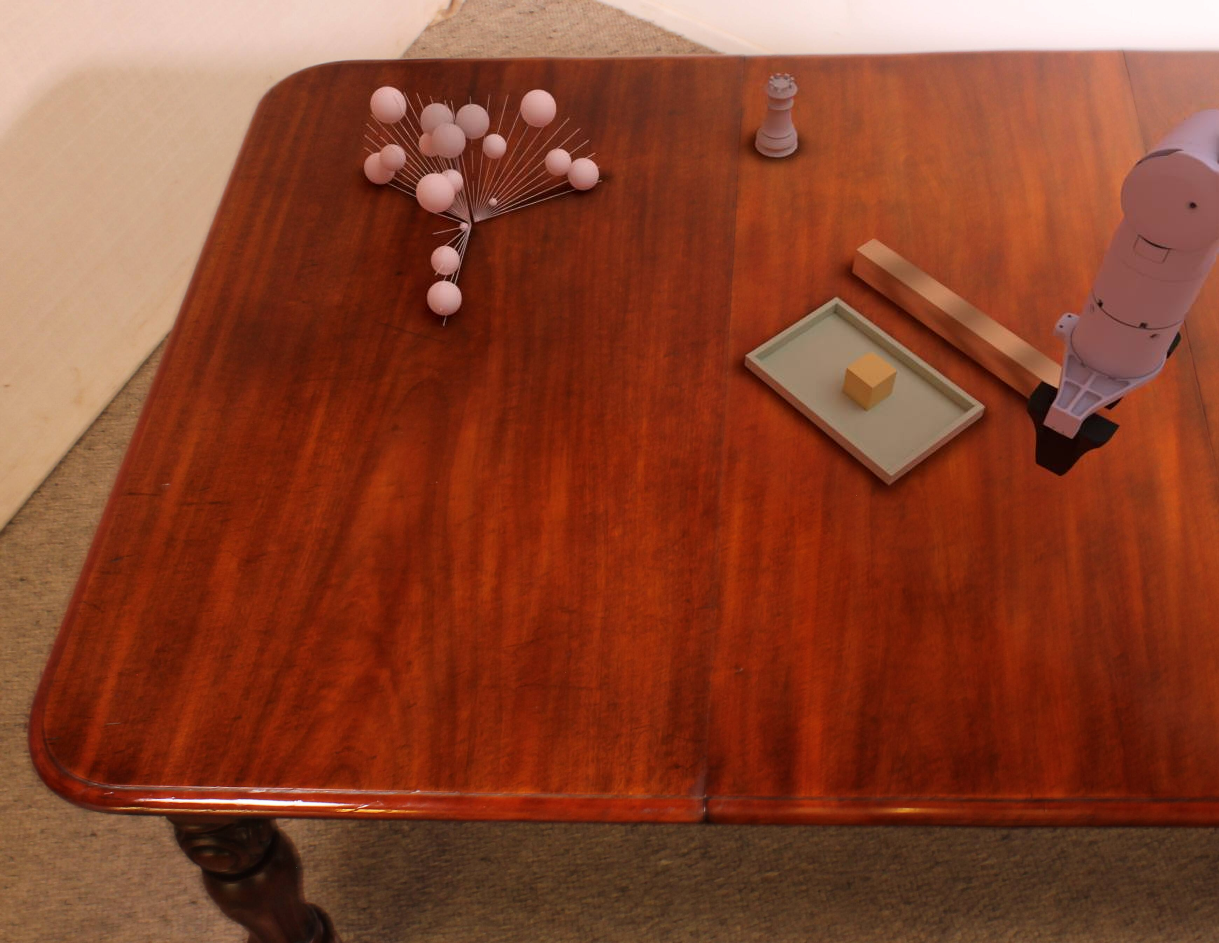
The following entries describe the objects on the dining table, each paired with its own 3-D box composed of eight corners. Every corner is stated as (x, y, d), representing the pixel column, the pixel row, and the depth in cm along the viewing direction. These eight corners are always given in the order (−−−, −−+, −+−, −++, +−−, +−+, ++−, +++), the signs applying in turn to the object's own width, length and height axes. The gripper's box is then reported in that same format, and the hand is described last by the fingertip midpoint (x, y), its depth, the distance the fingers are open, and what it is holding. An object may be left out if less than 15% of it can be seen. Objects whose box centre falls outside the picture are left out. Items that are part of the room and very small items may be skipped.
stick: (1087, 417, 90) (1099, 392, 88) (1069, 431, 89) (1081, 407, 87) (869, 263, 103) (874, 237, 100) (851, 274, 102) (855, 249, 99)
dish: (981, 418, 91) (985, 406, 89) (888, 487, 87) (891, 476, 86) (834, 308, 99) (836, 296, 98) (744, 367, 95) (745, 355, 94)
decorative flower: (314, 320, 102) (269, 201, 90) (370, 170, 115) (336, 50, 104) (575, 331, 99) (562, 210, 88) (602, 177, 112) (594, 54, 101)
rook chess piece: (752, 135, 115) (757, 68, 109) (794, 133, 115) (801, 66, 109) (756, 161, 113) (761, 94, 106) (799, 159, 112) (806, 92, 106)
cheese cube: (892, 393, 92) (897, 370, 90) (867, 411, 91) (872, 388, 89) (866, 374, 94) (871, 350, 91) (841, 390, 93) (846, 367, 90)
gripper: (1129, 209, 72) (1069, 349, 82) (1025, 335, 65) (975, 469, 76) (1235, 253, 69) (1159, 392, 79) (1137, 389, 62) (1068, 520, 73)
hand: (1075, 433), depth 78 cm, fingers open, 7 cm apart
